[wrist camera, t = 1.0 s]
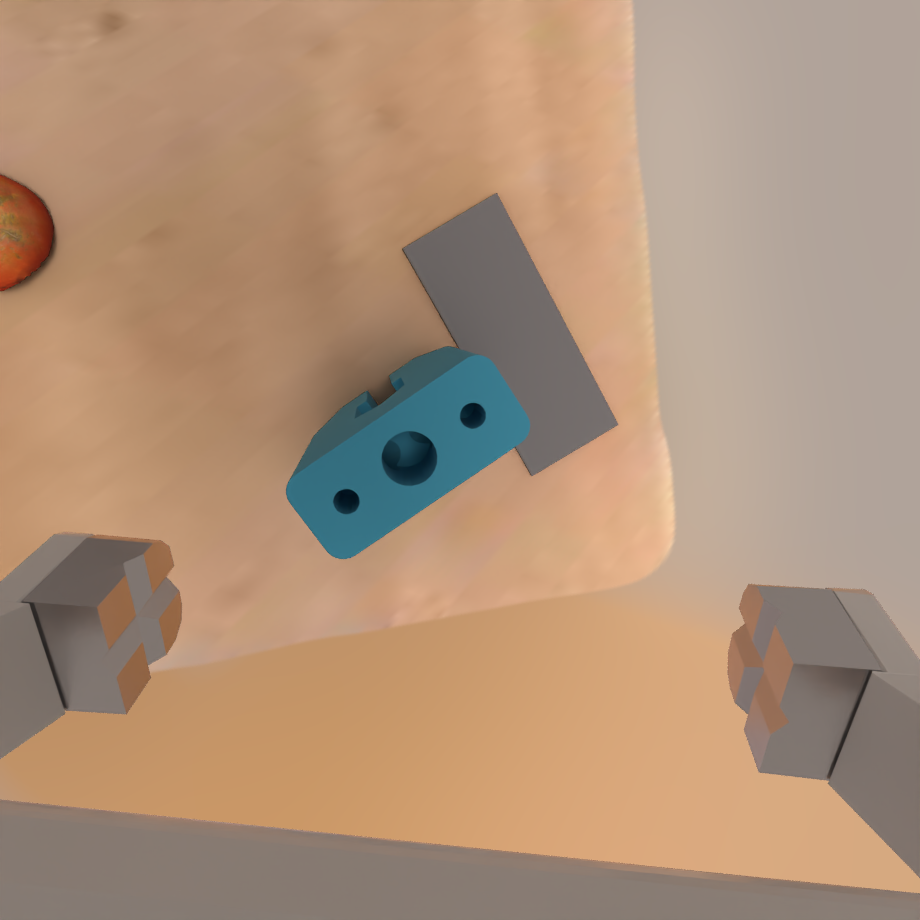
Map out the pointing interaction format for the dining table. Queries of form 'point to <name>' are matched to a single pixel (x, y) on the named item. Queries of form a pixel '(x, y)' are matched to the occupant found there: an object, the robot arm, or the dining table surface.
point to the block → (404, 448)
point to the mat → (512, 328)
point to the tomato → (21, 232)
